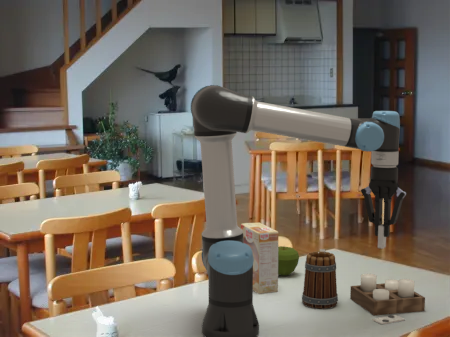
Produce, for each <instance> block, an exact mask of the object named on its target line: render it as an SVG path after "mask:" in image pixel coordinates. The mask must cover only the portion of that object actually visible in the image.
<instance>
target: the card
mask: <svg viewBox="0 0 450 337" xmlns="http://www.w3.org/2000/svg"><path fill="white" fill-rule="evenodd" d="M371 321H373V322H376V323H377V324H378V325H381V326H382V325H386V324H392V323H393V324H394V323H398V322H405V321H406V320H405V318H403V317H401V316H399V315H397V314H388V315H387V316H379V317H375V318H371Z"/></svg>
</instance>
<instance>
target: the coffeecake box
mask: <svg viewBox="0 0 450 337" xmlns="http://www.w3.org/2000/svg"><path fill="white" fill-rule="evenodd" d="M240 228H241V229H242V230H243V236H244V243H245V244H247V245H249V246H250V247H251V249H252V251H253V257H254V262H253V292H255V293H256V294H258V295H264V294H270V293H271V294H272V293H278V292H279V275H278V247H279V234H280V233H279V231H278V230H275V229H274V228H272V227H270V226H268V225H265V224H264V223H261V222H260V221H259V222H244V223H243V222H242V223H241V224H240Z"/></svg>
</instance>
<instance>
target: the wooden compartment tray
mask: <svg viewBox="0 0 450 337" xmlns="http://www.w3.org/2000/svg"><path fill="white" fill-rule="evenodd" d="M376 289H385V282H384V283H376ZM385 290H387V289H385ZM388 291H389V300H377V301H376V300H374V299H373V292H362V291H361V284H360V285H358V284H357V285H350V293H349V294H350V295H349V296H350V297H349V299H350V300H351V301H353V302H354V303H356V304H357V305H358V306H360V307H361V308H362V309H364V310H365V311H367V312H368V313H370V314H371V315H372V316H374V317H375V316H383V315H397V314H405V313H416V312H425V309H426V297H425V296H423V295H421V294H420V293H418V292H416V291H414V297H413V298H400V297H398V290H388Z"/></svg>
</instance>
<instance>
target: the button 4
mask: <svg viewBox="0 0 450 337" xmlns="http://www.w3.org/2000/svg"><path fill="white" fill-rule="evenodd" d="M397 280H398V297H400V298H413V297H414V292H415V280H413V279H410V278H409V279H408V278H401V279H397Z"/></svg>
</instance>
